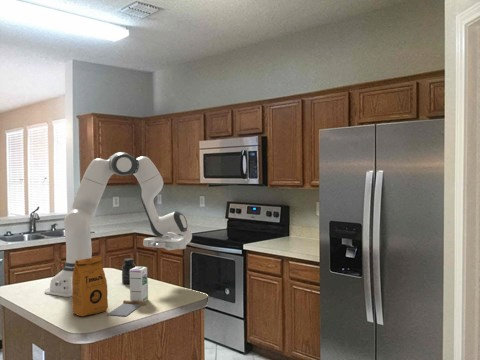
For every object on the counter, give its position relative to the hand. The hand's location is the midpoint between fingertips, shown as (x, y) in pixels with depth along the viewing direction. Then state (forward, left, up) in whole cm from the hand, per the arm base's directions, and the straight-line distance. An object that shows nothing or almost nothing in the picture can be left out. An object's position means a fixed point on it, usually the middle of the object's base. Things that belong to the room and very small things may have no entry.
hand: (154, 245), depth 188 cm
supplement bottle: (-20, +14, -22) cm, 33 cm away
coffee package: (-15, -29, -22) cm, 40 cm away
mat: (-3, -24, -22) cm, 33 cm away
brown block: (-2, -16, -22) cm, 27 cm away
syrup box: (-2, -12, -22) cm, 25 cm away
